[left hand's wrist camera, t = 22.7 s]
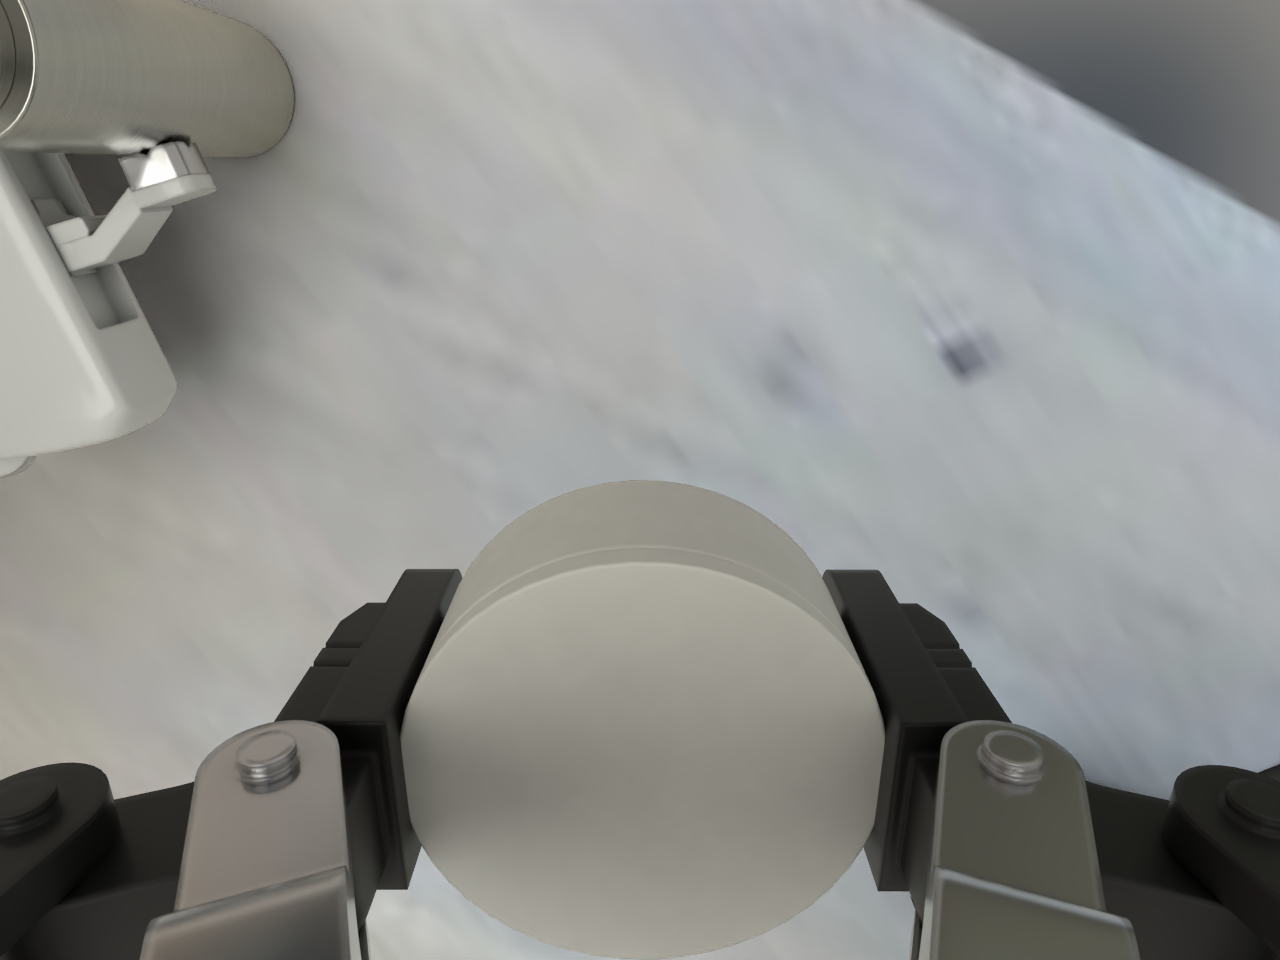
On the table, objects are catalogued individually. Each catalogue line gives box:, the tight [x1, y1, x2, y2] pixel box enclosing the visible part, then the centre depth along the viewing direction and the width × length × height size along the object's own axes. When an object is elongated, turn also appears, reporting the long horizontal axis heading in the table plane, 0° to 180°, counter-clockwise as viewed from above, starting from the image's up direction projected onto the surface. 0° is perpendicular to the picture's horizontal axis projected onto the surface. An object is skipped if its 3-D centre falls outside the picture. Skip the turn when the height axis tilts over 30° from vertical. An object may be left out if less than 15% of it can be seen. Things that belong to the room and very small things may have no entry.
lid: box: [400, 480, 885, 959], centre depth 10 cm, size 5×5×2 cm
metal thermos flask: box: [0, 0, 294, 157], centre depth 23 cm, size 5×5×16 cm
